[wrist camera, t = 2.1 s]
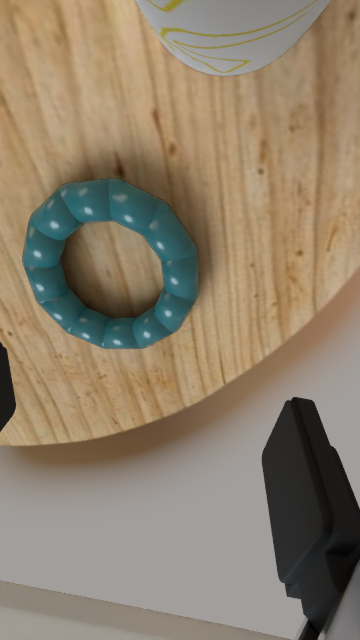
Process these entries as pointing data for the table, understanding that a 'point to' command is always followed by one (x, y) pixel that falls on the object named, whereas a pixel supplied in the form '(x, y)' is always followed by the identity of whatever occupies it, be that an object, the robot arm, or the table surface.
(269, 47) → the grey cylinder
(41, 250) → the ring
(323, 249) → the table surface
